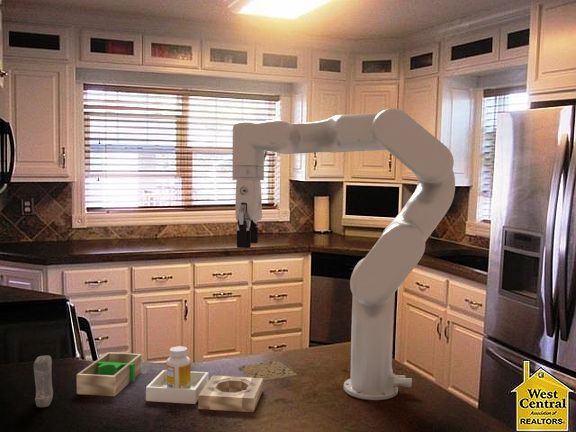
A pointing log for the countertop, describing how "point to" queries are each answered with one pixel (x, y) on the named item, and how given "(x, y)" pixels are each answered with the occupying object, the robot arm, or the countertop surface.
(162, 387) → the tray
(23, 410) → the countertop surface
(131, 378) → the pipe clamp
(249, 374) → the speckled tile
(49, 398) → the stone
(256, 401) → the plate
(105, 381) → the parts corral
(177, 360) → the supplement bottle
